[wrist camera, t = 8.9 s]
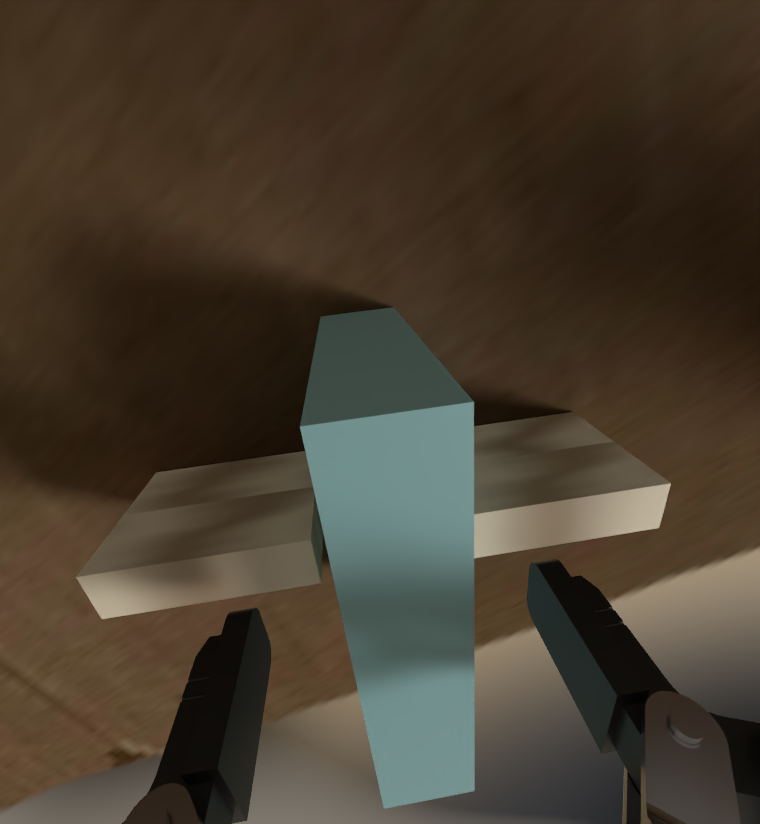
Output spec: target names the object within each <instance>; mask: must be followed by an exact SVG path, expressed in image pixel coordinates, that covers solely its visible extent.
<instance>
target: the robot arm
mask: <svg viewBox="0 0 760 824" xmlns="http://www.w3.org/2000/svg"><path fill="white" fill-rule="evenodd" d="M527 604H528V608H529V612H530V615H531V618H532V620H533V622H534V624H535V626H536V628H537V630H538V632H539V634H540V636H541V638H542V639H543V641H544V643H545V645H546V647H547V649H548V651H549V653H550V655H551V657H552V659H553V661H554V663H555V665H556V667H557V668H558V670H559V672H560V674H561V676H562V678H563V680H564V682H565V684H566V686H567V688H568V690H569V691H570V694H571V695H572V697H573V699H574V701H575V703H576V705H577V707H578V709H579V711H580V713H581V715H582V717H583V719H584V721H585V722H586V725H587V726H588V728H589V730H590V732H591V734H592V736H593V738H594V740H595V742H596V744H597V746H598V748H599V750H600V752H601V754H602V753H607V752H612V751H617V752H618V754H619V756H620V758H621V760H622V762H623V764H624V765H625V770H624V795H623V824H760V723H755V722H750V721H744V720H739V719H733V718H728V717H723V716H718V715H715V714H712V713H710V712H707V711H706V710H705V709H704V708H703V707H702V706H700V705H699V704H698V703H696V702H695V701H693V700H691V699H690V698H688V697H686V696H684V695H681V694H679V693H678V692H677V691H676V690H675V689H674V688H673V687H672V685H671V684H670V683H669V682H668V681H667V679H666V678H665V677H664V675H663V674H662V673H661V671H660V670H659V669H658V667H657V666H656V665H655V663H654V662H653V661H652V659H651V658H650V657H649V655H648V654H647V653H646V651H645V650H644V649H643V647H642V646H641V645H640V643H639V642H638V641H637V639H636V638H635V637H634V635H633V634H632V633H631V631H630V630H629V629H628V627H627V626H626V625H624V624H623V621H622V619H621V618H620V617H619V615H618V614H617V613H616V611H614V610H613V609H612V606H611V605H610V603H609V602H608V601H607V599H606V598H605V597H604V595H603V594H602V593H601V591H600V590H599V589H598V588H597V587H595V586H594V585H593V584H591V583H590V582H589V581H587V580H586V579H585V578H583V577H582V576H581V575H580V576H575V577H571V576H570V575H569V573H568V572H567V570H566V569H565V567H564V566H563V565H562V563H561V562H560V561H559V560H557V559H553V560H547V561H541V562H535V563H531V564H530V568H529V579H528V591H527ZM270 666H271V646H270V641H269V638H268V635H267V632H266V629H265V626H264V624H263V621H262V618H261V615H260V612H259V610H258V609H257V608H252V609H246V610H239V611H233V612H230V613H229V614H228V615H227V617H226V620H225V624H224V627H223V631H222V634H221V635H218V636H212V637H209V639H208V640H207V641H206V643H205V644H204V646H203V647H202V649H201V650H200V651H199V653H198V654H197V656H196V658H195V661H194V664H193V667H192V669H191V672H190V675H189V678H188V680H189V681H188V683H187V684H186V687H185V690H184V693H183V696H182V702H180V705H179V708H178V711H177V714H176V717H175V720H174V723H173V726H172V729H171V732H170V735H169V738H168V741H167V744H166V747H165V750H164V753H163V756H162V759H161V762H160V765H159V768H158V772H157V774H156V777H155V779H154V782H153V784H152V786H151V788H150V790H149V792H148V793H147V795H146V796H145V797H144V798H143V799H142V800H140V801H139V802H138V804H137V805H136V806H135V807H134V808H133V810H132V811H131V812H130V814H129V815H128V817H127V819H126V820H125V821H124V822H123V823H122V824H232V823H236V822H242V821H247V817H248V811H249V804H250V797H251V791H252V784H253V777H254V771H255V764H256V758H257V751H258V744H259V738H260V732H261V725H262V719H263V712H264V705H265V699H266V692H267V686H268V679H269V672H270Z"/></svg>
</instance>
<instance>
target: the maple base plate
mask: <svg viewBox="0 0 760 824" xmlns="http://www.w3.org/2000/svg"><path fill="white" fill-rule="evenodd" d="M670 485H671V483H670V482H668V481H667V480H666V479H664V478H663V477H662V476H660V475H659V474H657V473H656V472H655V471H653V470H652V469H651V468H649V467H648V466H647V465H645V464H644V463H642V462H641V461H640V460H638V459H637V458H636V457H634V456H633V455H631V454H630V453H629V452H627V451H626V450H625V449H623V448H622V447H620V446H619V445H618V444H616V443H615V442H614V441H612V440H611V439H609V438H608V437H607V436H605V435H604V434H603V433H601V432H600V431H599V430H597V429H596V428H594V427H593V426H592V425H590V424H589V423H588V422H586V421H585V420H583V419H582V418H581V417H579V416H578V415H577V414H575V413H574V412H569V413H562V414H555V415H548V416H541V417H535V418H528V419H521V420H514V421H507V422H500V423H493V424H486V425H480V426H474V558H478V557H484V556H491V555H497V554H503V553H509V552H515V551H521V550H527V549H533V548H539V547H545V546H551V545H558V544H564V543H570V542H576V541H582V540H588V539H594V538H600V537H606V536H612V535H619V534H625V533H631V532H637V531H643V530H649V529H655V528H659V526H660V523H661V519H662V515H663V511H664V508H665V504H666V500H667V496H668V493H669V489H670ZM322 549H323V529H322V525H321V520H320V516H319V511H318V507H317V502H316V498H315V493H314V489H313V484H312V479H311V475H310V470H309V466H308V461H307V457H306V452H305V451H301V452H294V453H287V454H280V455H273V456H266V457H259V458H252V459H246V460H239V461H232V462H225V463H218V464H211V465H204V466H197V467H191V468H184V469H177V470H170V471H163V472H156V473H155V475H154V476H153V477H152V479H151V480H150V481H149V482H148V484H147V485H146V486H145V488H144V489H143V490H142V492H141V493H140V494H139V496H138V497H137V498H136V499H135V501H134V502H133V503H132V505H131V506H130V507H129V509H128V510H127V511H126V512H125V514H124V515H123V516H122V518H121V519H120V520H119V522H118V523H117V524H116V526H115V527H114V528H113V529H112V531H111V532H110V533H109V535H108V536H107V537H106V539H105V540H104V541H103V542H102V544H101V545H100V546H99V548H98V549H97V550H96V552H95V553H94V554H93V556H92V557H91V558H90V559H89V561H88V562H87V563H86V565H85V566H84V567H83V569H82V570H81V571H80V573H79V574H78V575H77V576H76V578H77V580H78V581H79V583H80V585H81V586H82V588H83V590H84V591H85V593H86V594H87V596H88V598H89V599H90V601H91V602H92V604H93V606H94V607H95V609H96V611H97V612H98V614H99V615H100V617H101V619H106V618H112V617H118V616H125V615H131V614H137V613H143V612H149V611H155V610H161V609H167V608H173V607H179V606H186V605H192V604H198V603H204V602H210V601H216V600H222V599H228V598H234V597H240V596H247V595H253V594H259V593H265V592H271V591H277V590H283V589H289V588H295V587H301V586H308V585H314V584H320V583H321V573H322Z"/></svg>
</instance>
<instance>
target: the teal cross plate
mask: <svg viewBox="0 0 760 824" xmlns="http://www.w3.org/2000/svg"><path fill="white" fill-rule="evenodd" d="M300 430H301V434H302V439H303V443H304V448H305V452H306V457H307V461H308V466H309V470H310V475H311V479H312V484H313V489H314V493H315V498H316V502H317V507H318V511H319V516H320V520H321V525H322V529H323V534H324V538H325V543H326V548H327V552H328V557H329V561H330V566H331V570H332V575H333V579H334V584H335V588H336V593H337V597H338V602H339V607H340V611H341V616H342V620H343V625H344V629H345V634H346V638H347V643H348V647H349V652H350V656H351V661H352V665H353V670H354V675H355V679H356V684H357V688H358V693H359V697H360V702H361V706H362V711H363V715H364V719H365V724H366V729H367V734H368V737H369V742H370V747H371V752H372V756H373V760H374V765H375V770H376V774H377V779H378V783H379V788H380V793H381V797H382V802H383V806H384V809H385V808H390V807H395V806H400V805H405V804H410V803H415V802H421V801H425V800H431V799H435V798H441V797H446V796H451V795H456V794H460V793H466V792H471V791H474V401H473V400H472V399H471V398H470V397H469V395H468V394H467V393H466V392H465V391H464V389H463V388H462V387H461V386H460V385H459V384H458V382H457V381H456V380H455V379H454V378H453V377H452V375H451V374H450V373H449V372H448V371H447V369H446V368H445V367H444V366H443V365H442V364H441V362H440V361H439V360H438V359H437V358H436V357H435V355H434V354H433V353H432V352H431V351H430V349H429V348H428V347H427V346H426V345H425V344H424V342H423V341H422V340H421V339H420V338H419V337H418V335H417V334H416V333H415V332H414V331H413V329H412V328H411V327H410V326H409V325H408V324H407V322H406V321H405V320H404V319H403V318H402V317H401V315H400V314H399V313H398V312H397V311H396V309H395V308H394V307H391V308H383V309H375V310H367V311H359V312H352V313H344V314H336V315H328V316H321V317H320V322H319V328H318V333H317V338H316V344H315V349H314V354H313V360H312V365H311V370H310V375H309V381H308V386H307V391H306V397H305V402H304V407H303V413H302V418H301V423H300Z"/></svg>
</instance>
